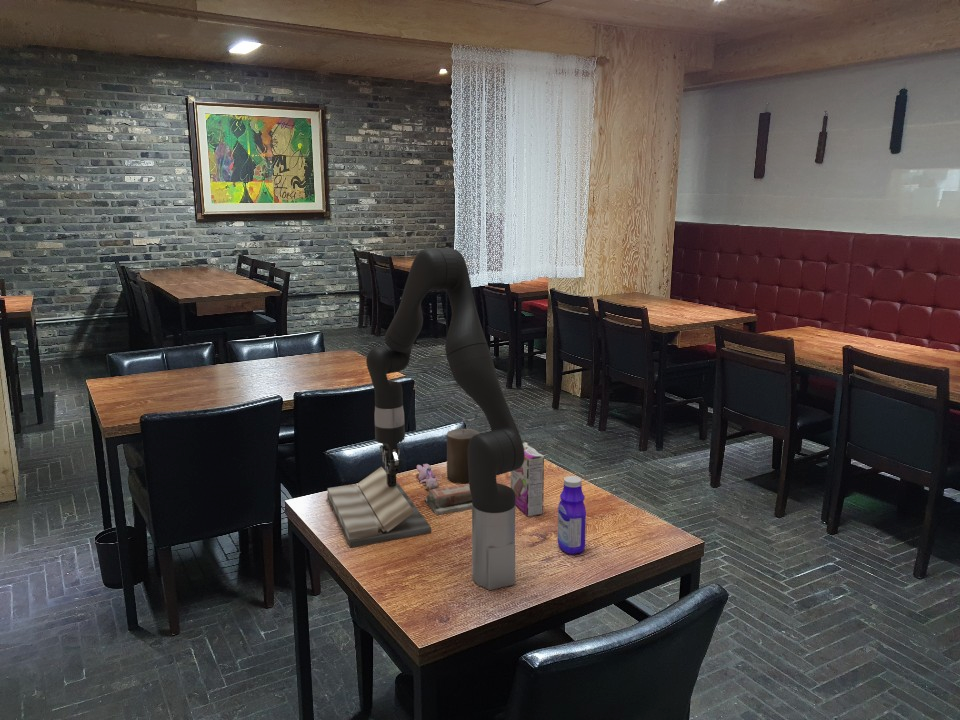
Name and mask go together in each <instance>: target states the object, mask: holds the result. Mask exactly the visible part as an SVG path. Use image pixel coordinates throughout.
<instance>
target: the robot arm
mask: <svg viewBox="0 0 960 720" xmlns="http://www.w3.org/2000/svg"><path fill="white" fill-rule="evenodd" d="M433 291H434V292H438V291H445V292H446V294H447V296H448V299H449V303H450V308H451V320H450V323H449V327H448V330H447V333H446V334H447V335H446V338H445V343H444V345H445V346H444V350H445V355H446V358H447V361H448V362H447V363H448V365H449V368H450V371H451V375H452V377H453V380H454V381H455V382H456V384H457V385H458V386H459V387H460V388H461V389H462V391H463V392H464V393H466V395H468V397H470V398H471V399H472V401H474V402H475V403H476V404H477V405H478V406H479V408H480V409H481V410H482V412H483V414H484V416H485V417H486V420H487V422H488V425H489V428H490V431H485V432H479V434H476V435H474V436H473V437H472V438H471V439H470V441H469V444H468V453H467V455H468V472H469V483H468V484H469V487H470V492H471V496H472V509H471V536H472V537H471V544H472V545H471V552H472V553H471V559H472V560H471V561H472V565H471V566H472V567H471V568H472V569H471V572H472V577H471V579H472V580H473V582H474V583H475V584H477V585H478V586H481V587H484V588H486V589H487V590H488V591H491V590H496V589H500V588H505V587H509V586H514V585H515V584H516V496H515V492H514V490H513V489H512V488H511V486H508V485H506V484H502V483H498V482H497V476H500V475H503V474H507V473H511V471H514V470H517V469H519V468H520V467H521V466H522V465H523V463H524V458H525V453H524V447H523V443H524V442H523V440H522V437H521V433H520V432H519V429H518V427H517V425H516V422H515V420H514V418H513V415H512V413H511V410H510V407H509V406H508V404H507V402H506V398H505V396H504V393H503V390H502V387H501V384H500V381H499V379H498V378H499V377H498V375H497V371H496V367H495V365H494V361H493V357H492V354H491V350H490V348H489V345H488V342H487V339H486V336H485V334H484V330H483V327H482V324H481V321H480V317H479V314H478V310H477V306H476V302H475V298H474V293H473V288H472V283H471V278H470V275H469V269H468V266H467V263H466V260H465V258H464V255H462V253H461V252H460V251H459V250H457V249H454V248H424V249H421V250H419V252H418V253H417V254H416V256H415V257H414V259H413V261H412V263H411V266H410V269H409V273H408V275H407V279H406V282H405V285H404V289H403V291H402V295H401V300H400V303H399V306H398V308H397V311H396V313H395V315H394V317H393V319H392V321H391V322H390V324H389V327H388V328H387V330H386V332H385V335H384V343H385V344H386V345H382V346H376V347H373V348H371V349H370V350H369V351H368V353H367V355H366V368H367V371H368V373H369V376H370V379H371V382H372V383H371V384H372V386H373V390H374V437H375V441H376V442H377V443H378V444H380V445H379V449H380V455H381V459H382V466H383V468H384V470H385V472H386V475H387V485H388V486H389V487H394V486H396V483H397V474H398V473H400V470H401V467H402V466H401V465H402V464H403V463H402V461H403V460H402V458H401V457H400V454H401V452H400V451H401V449H400V446H398V444H399V443H401V442H403V441H404V440H405V439H406V438H405V437H406V435H405V434H406V433H405V411H404V397H403V396H404V393H403V386H402V384H401V383H400V382H398V381H397V380H396V381H395V380H389V379H388V376H387V375H389V374H393V373H399V372H402V371H404V370H405V369H406V368H407V366H409V364H410V361H411V354H412V349H413V345H414V343H415V341H416V340H417V339H418V336H419V335H420V333H421V330H422V329H423V324H424V316H423V310H422V301H423V300H424V299H425V296H426V295H427V294H428V293H429V292H433Z"/></svg>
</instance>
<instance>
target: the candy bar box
mask: <svg viewBox="0 0 960 720" xmlns="http://www.w3.org/2000/svg"><path fill="white" fill-rule="evenodd" d="M522 443H523V447H524V453H525V458H524V463H523V465H522V466H521V467H520V468H519V469H517V470H514V471H511V472H510V488H512V489H513V490H514V492H515V496H516V505H515V507H516V508H518V510H520V511H521V512H522V513H523V514H524V516H526V517H527V518H530V517H534V516H535V517H536V516H540V515H544V486H545V485H544V484H545V482H544V481H545V480H544V479H545V477H544V476H545V475H544V474H545V455H543V454H541V452H539V451H538V450H536V449H535V448H534V447H533V446H532V445H530V444H529V443H527V442H522Z"/></svg>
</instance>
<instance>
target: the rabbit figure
mask: <svg viewBox="0 0 960 720" xmlns="http://www.w3.org/2000/svg"><path fill="white" fill-rule="evenodd" d="M416 470H417V472H418V473H419V474H418V477H417V478H418V479H419V480H420V481H419V484H422V483H425V488H426V490H428V492H429V491H430V490H432V489H438V488H440V487H439V483H438V482H441V478H436V477H437V476H436V474H435V473H434V471H433V470H432V467H431V465H430V464H428V463H423V464H422V465H421V464H417V465H416Z"/></svg>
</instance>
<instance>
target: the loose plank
mask: <svg viewBox="0 0 960 720" xmlns="http://www.w3.org/2000/svg"><path fill="white" fill-rule="evenodd" d="M357 485H358V487H359V489H360V490H361V492H362V494H363V495H364V497H365V499H366V500H367V502H368V504H369V505H370V507H371V509H372V510H373V512H374V514H375V516H376V517H377V519H378V521H379V522H380V524H381V526H382V529H381V530H382V531H383V532H385V531H387V532H388V531H390V530H391V529H393V528H394V527H395V526H397V525H398V524H399V523H401V522H402V521H403V520H405V519H406V518H407V517H409V516H410V515H411V514H413V513H414V510H413V509H412V508H411V506H410V505H409V503H408V502H407V501H406V499H405V498H404V496H403V495H402V494H401V492H400V491H399V490H398V488H397V487H396V486H394V487H389V486H388V485H387V475H386V471H385V468H384V467H382V466H380V467H379V468H377V469H376V470H375V471H373V472H372V473H370V474H369V475H368V476H366V477H365V478H363V479H362V480H360V481H359V482H358V483H357Z"/></svg>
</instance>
